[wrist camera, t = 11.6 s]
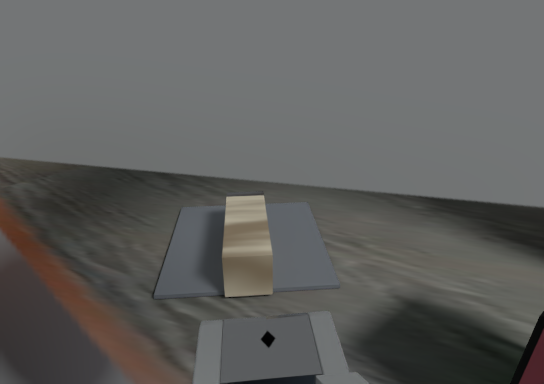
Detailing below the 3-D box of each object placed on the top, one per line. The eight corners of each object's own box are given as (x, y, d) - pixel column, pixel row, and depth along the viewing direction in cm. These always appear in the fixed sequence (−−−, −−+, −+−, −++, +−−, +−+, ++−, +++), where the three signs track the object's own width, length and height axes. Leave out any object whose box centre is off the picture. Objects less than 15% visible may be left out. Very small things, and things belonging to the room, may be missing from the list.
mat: (339, 287, 30) (340, 284, 30) (154, 299, 29) (153, 295, 29) (307, 204, 45) (307, 202, 45) (182, 210, 44) (182, 207, 44)
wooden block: (272, 254, 27) (263, 191, 38) (222, 257, 27) (226, 192, 38) (272, 294, 29) (263, 222, 40) (225, 297, 29) (228, 224, 40)
